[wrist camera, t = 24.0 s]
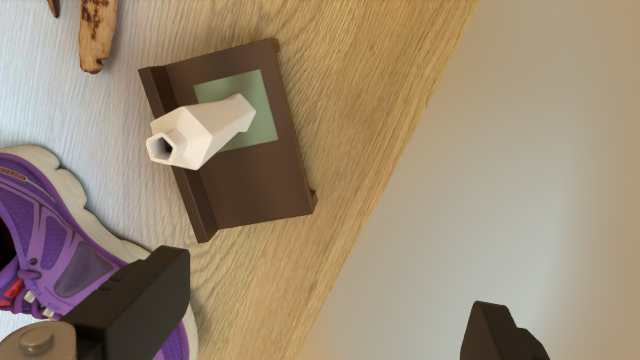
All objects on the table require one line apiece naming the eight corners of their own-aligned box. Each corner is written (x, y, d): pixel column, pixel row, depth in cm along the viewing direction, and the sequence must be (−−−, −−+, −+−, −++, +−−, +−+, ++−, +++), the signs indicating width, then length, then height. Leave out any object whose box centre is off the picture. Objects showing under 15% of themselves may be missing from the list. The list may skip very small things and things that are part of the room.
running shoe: (164, 372, 58) (97, 474, 44) (-30, 191, 53) (-175, 242, 39) (231, 323, 54) (181, 419, 40) (28, 120, 48) (-111, 150, 35)
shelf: (277, 39, 42) (259, 37, 35) (317, 200, 47) (308, 225, 40) (173, 66, 44) (137, 69, 38) (221, 217, 49) (197, 243, 42)
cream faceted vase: (204, 112, 41) (113, 146, 27) (233, 81, 40) (153, 101, 25) (236, 145, 41) (164, 197, 27) (266, 117, 40) (206, 155, 26)
